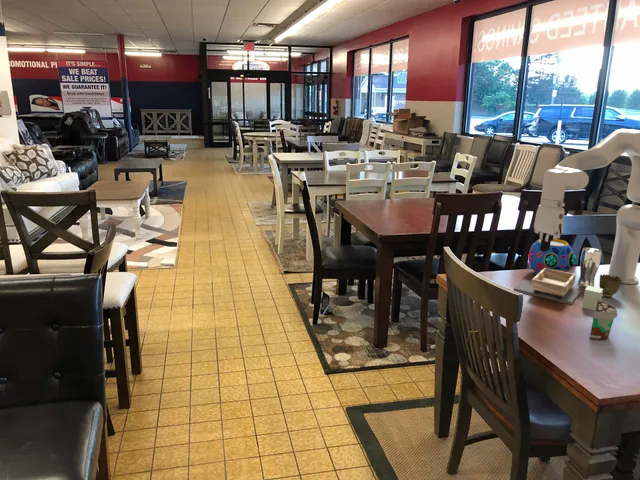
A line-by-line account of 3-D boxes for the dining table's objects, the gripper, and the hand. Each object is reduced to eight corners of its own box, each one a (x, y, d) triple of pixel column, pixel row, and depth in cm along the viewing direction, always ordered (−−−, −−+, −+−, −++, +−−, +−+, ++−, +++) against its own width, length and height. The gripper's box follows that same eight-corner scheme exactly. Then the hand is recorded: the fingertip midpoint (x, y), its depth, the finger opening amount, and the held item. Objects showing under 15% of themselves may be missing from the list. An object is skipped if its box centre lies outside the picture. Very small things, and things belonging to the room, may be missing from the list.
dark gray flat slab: (523, 281, 208) (523, 279, 208) (579, 294, 196) (579, 291, 196) (513, 290, 198) (513, 288, 198) (571, 304, 186) (571, 302, 186)
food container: (611, 346, 155) (617, 316, 153) (588, 341, 158) (594, 311, 156) (613, 331, 165) (619, 303, 163) (592, 326, 169) (597, 298, 166)
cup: (621, 301, 190) (625, 281, 188) (599, 299, 191) (603, 279, 189) (614, 294, 197) (618, 274, 195) (593, 292, 198) (597, 273, 196)
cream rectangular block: (584, 303, 188) (587, 285, 186) (599, 306, 185) (603, 288, 183) (581, 307, 184) (585, 289, 182) (597, 311, 181) (600, 292, 179)
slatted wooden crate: (542, 281, 205) (544, 267, 204) (573, 288, 199) (575, 274, 197) (529, 293, 192) (532, 279, 190) (562, 301, 185) (565, 286, 184)
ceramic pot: (540, 283, 206) (546, 248, 202) (517, 269, 223) (522, 236, 218) (580, 282, 209) (586, 247, 204) (554, 268, 225) (559, 235, 221)
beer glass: (594, 284, 207) (601, 249, 203) (595, 289, 201) (602, 253, 197) (576, 281, 210) (582, 246, 206) (576, 286, 204) (582, 251, 200)
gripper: (576, 206, 183) (568, 255, 188) (542, 198, 196) (535, 244, 201) (561, 208, 180) (554, 257, 185) (528, 200, 193) (521, 246, 198)
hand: (544, 250), depth 193 cm, fingers closed
